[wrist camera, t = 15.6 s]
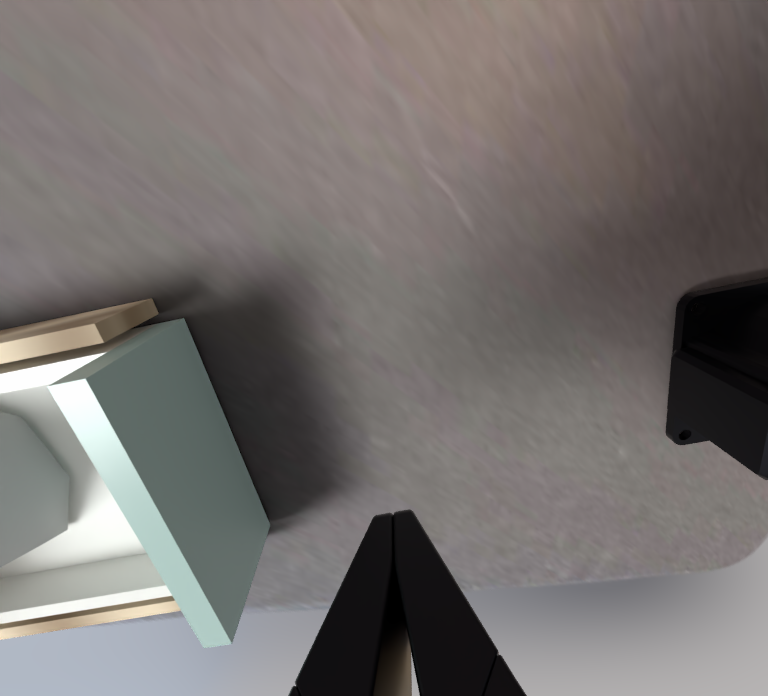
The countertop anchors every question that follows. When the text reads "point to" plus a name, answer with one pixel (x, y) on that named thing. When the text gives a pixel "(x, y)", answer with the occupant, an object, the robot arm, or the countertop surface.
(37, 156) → the countertop surface
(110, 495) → the tray
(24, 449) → the flask
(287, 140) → the countertop surface
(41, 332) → the dock
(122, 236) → the countertop surface
